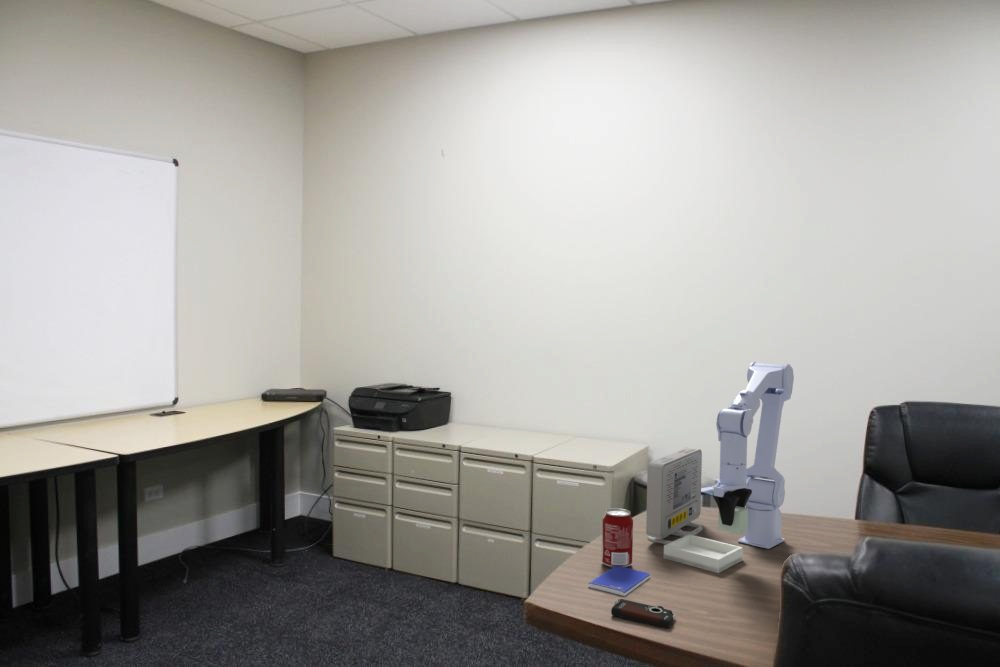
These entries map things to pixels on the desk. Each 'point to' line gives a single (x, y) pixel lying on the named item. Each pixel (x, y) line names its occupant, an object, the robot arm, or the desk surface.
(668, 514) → the network device
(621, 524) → the soda can
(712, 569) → the desk bin
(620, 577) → the hard drive
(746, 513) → the sage block
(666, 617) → the camera
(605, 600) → the desk surface
